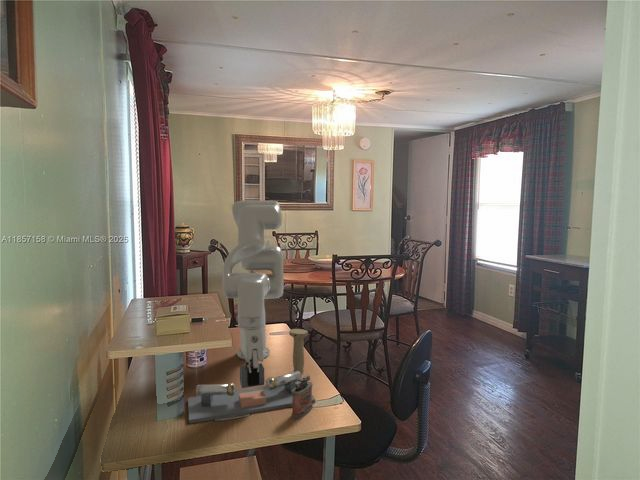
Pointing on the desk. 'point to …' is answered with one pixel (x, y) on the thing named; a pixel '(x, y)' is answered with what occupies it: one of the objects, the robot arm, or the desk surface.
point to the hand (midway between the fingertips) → (252, 381)
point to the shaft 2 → (284, 381)
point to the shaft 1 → (213, 392)
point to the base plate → (234, 405)
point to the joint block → (244, 375)
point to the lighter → (302, 397)
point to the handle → (298, 348)
